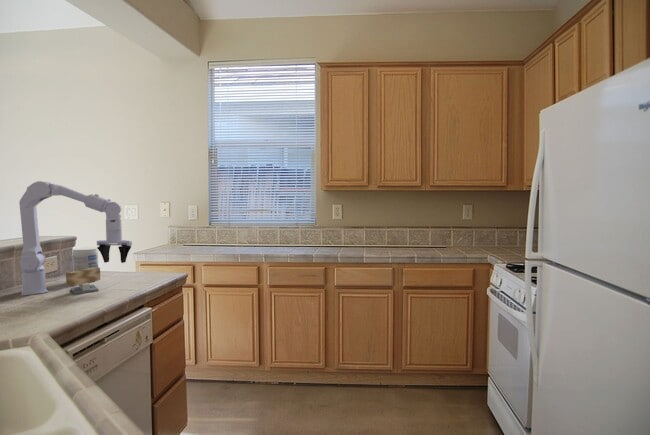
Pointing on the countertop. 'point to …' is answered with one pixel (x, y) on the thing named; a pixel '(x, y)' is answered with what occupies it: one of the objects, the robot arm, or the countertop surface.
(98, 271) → the oak stick
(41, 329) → the countertop surface
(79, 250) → the supplement tub
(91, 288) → the fulcrum stand
